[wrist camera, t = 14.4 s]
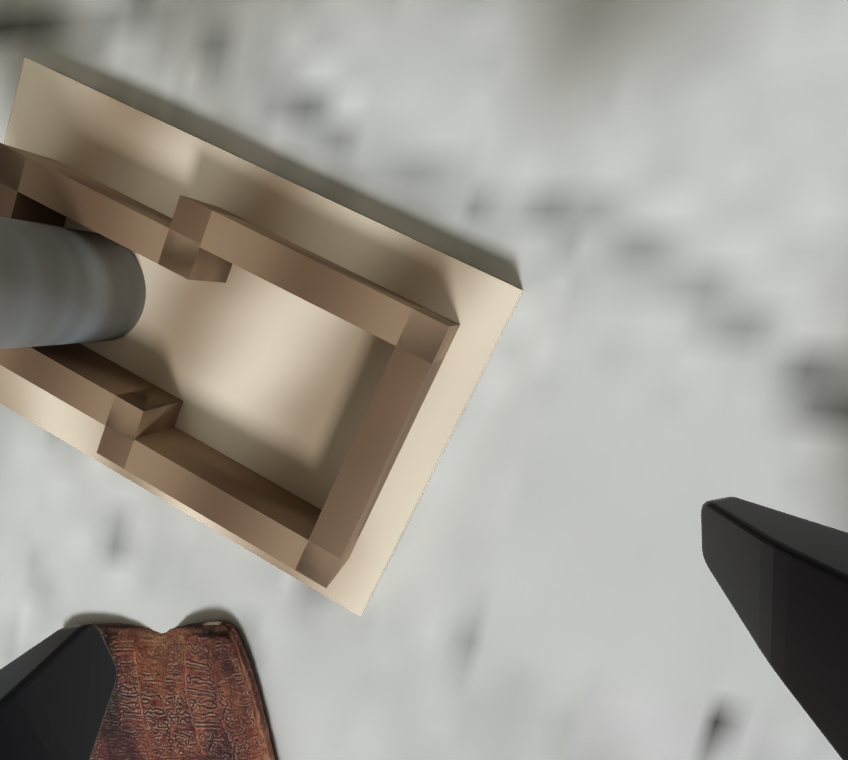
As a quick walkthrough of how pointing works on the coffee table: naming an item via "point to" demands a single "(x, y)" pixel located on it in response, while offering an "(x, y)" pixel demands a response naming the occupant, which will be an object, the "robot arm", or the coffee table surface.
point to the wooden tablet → (182, 696)
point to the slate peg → (65, 286)
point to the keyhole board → (247, 338)
